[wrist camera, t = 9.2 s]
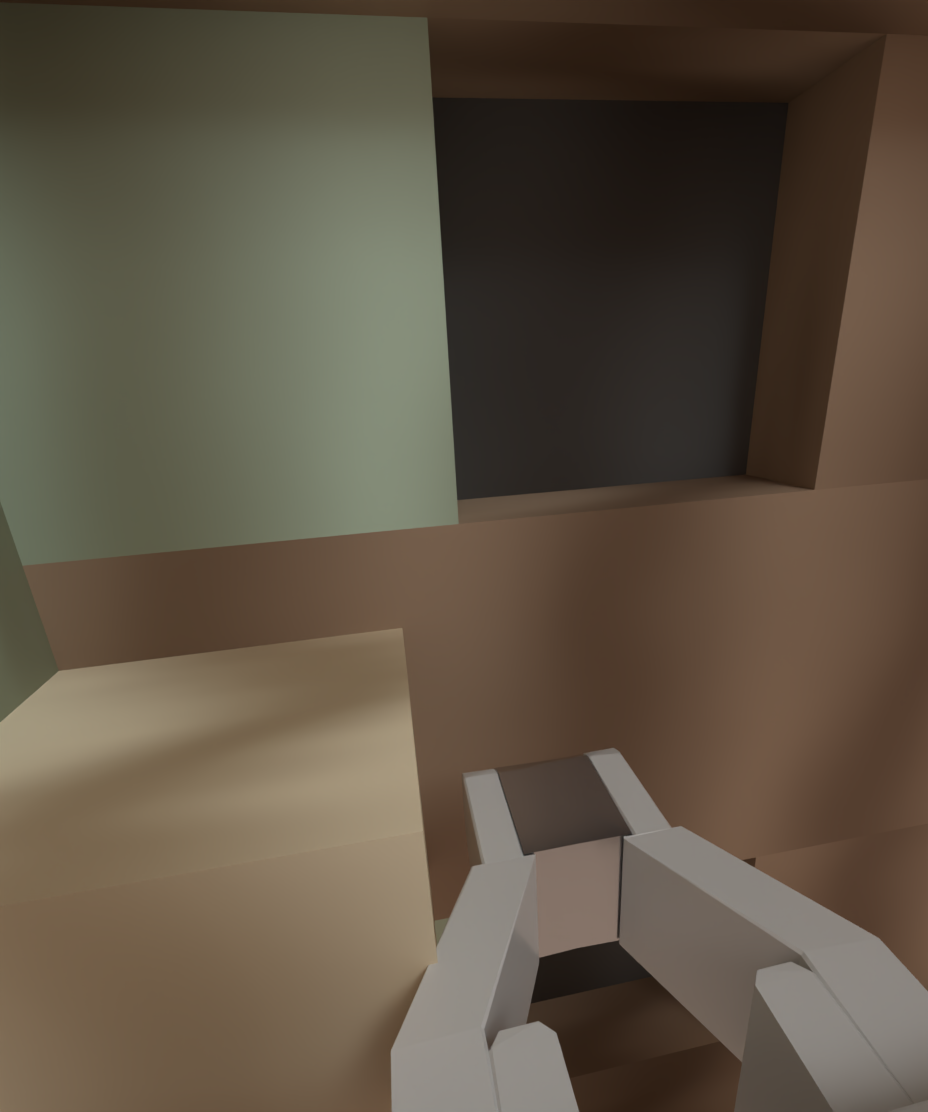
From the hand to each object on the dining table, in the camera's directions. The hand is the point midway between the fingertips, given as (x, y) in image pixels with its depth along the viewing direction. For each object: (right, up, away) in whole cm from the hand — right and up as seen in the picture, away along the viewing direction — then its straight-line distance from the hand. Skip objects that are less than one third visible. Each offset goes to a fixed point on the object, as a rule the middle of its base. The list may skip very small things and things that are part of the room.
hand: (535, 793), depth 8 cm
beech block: (-4, 0, 0) cm, 4 cm away
